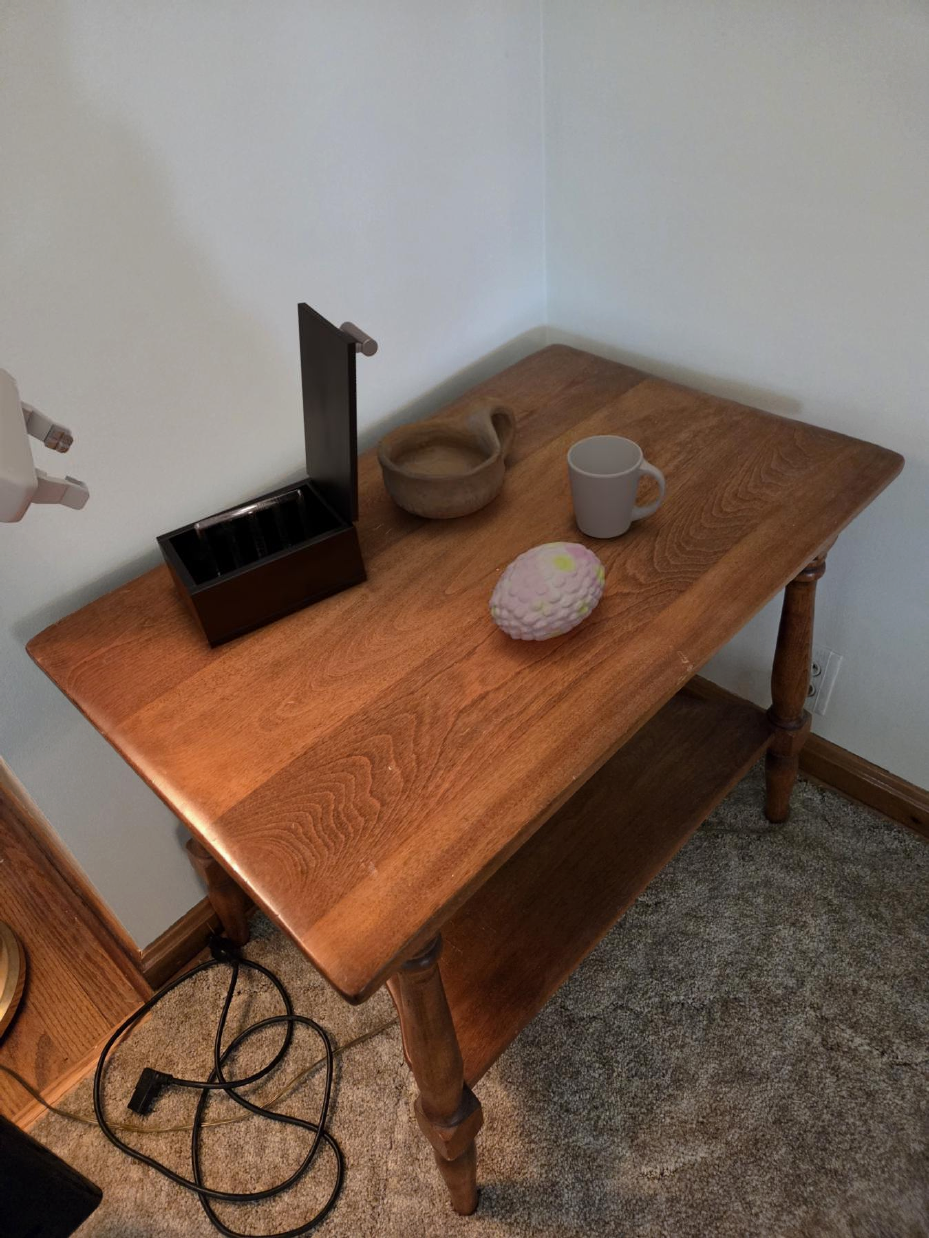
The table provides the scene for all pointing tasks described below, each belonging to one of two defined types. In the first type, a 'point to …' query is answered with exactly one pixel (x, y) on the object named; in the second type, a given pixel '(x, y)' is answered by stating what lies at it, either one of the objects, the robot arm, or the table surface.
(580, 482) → the cup
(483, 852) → the table surface
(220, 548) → the oven
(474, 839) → the table surface
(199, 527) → the rack
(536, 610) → the decorative item
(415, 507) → the bowl
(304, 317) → the oven door
